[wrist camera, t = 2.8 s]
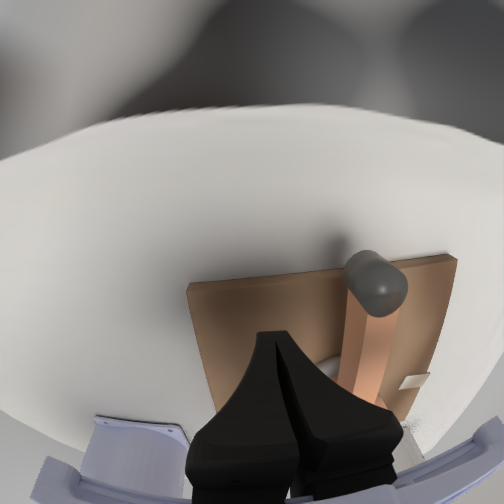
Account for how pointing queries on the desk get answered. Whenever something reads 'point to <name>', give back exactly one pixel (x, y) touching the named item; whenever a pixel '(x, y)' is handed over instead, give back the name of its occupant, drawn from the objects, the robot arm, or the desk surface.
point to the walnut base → (318, 324)
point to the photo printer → (407, 453)
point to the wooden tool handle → (369, 323)
